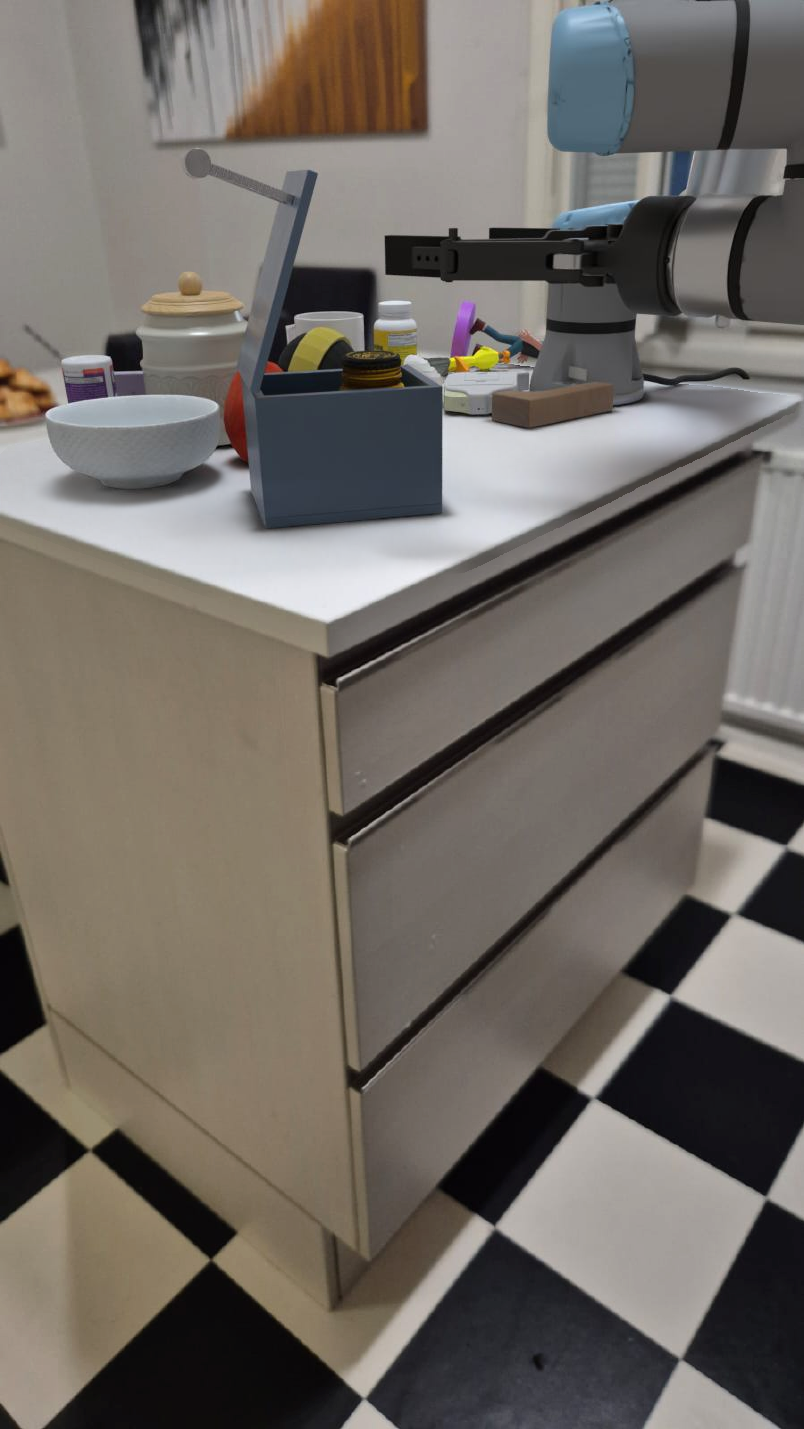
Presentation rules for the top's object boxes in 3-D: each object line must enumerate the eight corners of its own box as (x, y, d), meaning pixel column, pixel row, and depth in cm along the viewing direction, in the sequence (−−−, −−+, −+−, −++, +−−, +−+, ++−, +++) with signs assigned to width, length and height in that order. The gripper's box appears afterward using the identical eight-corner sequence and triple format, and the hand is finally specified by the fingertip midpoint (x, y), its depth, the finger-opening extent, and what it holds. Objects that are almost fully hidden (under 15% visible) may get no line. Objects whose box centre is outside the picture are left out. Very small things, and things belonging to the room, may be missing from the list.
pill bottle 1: (49, 360, 107) (65, 450, 111) (87, 363, 105) (101, 455, 109) (85, 353, 111) (99, 441, 116) (122, 355, 109) (134, 445, 113)
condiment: (421, 494, 90) (420, 356, 85) (332, 505, 88) (325, 363, 82) (395, 475, 96) (393, 345, 91) (311, 484, 94) (303, 351, 88)
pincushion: (416, 394, 138) (379, 404, 137) (407, 349, 135) (369, 359, 134) (450, 403, 128) (410, 415, 127) (442, 354, 125) (401, 366, 124)
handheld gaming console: (530, 416, 123) (528, 391, 136) (530, 392, 122) (529, 370, 135) (440, 417, 124) (448, 393, 138) (440, 394, 123) (447, 371, 136)
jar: (207, 419, 124) (190, 265, 116) (285, 431, 117) (273, 269, 109) (126, 440, 115) (102, 274, 106) (206, 454, 108) (186, 278, 100)
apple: (311, 466, 104) (305, 358, 99) (233, 473, 102) (222, 363, 97) (296, 448, 111) (290, 347, 106) (222, 454, 109) (212, 351, 104)
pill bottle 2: (373, 380, 147) (371, 300, 142) (414, 379, 148) (413, 299, 143) (377, 388, 142) (374, 305, 137) (419, 386, 143) (419, 304, 137)
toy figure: (517, 350, 148) (442, 363, 146) (517, 374, 150) (443, 387, 148) (499, 339, 154) (426, 352, 151) (499, 363, 156) (427, 375, 153)
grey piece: (366, 372, 150) (377, 349, 152) (369, 382, 152) (381, 360, 154) (442, 377, 145) (453, 353, 148) (445, 387, 147) (455, 364, 149)
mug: (379, 403, 132) (377, 314, 127) (334, 414, 126) (329, 321, 121) (316, 393, 139) (311, 308, 134) (269, 403, 133) (262, 315, 128)
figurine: (447, 369, 154) (560, 393, 153) (458, 307, 149) (575, 331, 148) (456, 355, 162) (564, 378, 161) (467, 296, 157) (578, 319, 155)
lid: (295, 174, 84) (186, 131, 80) (318, 173, 74) (194, 123, 70) (244, 370, 90) (141, 337, 87) (259, 394, 80) (142, 358, 77)
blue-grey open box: (410, 479, 98) (408, 364, 93) (442, 513, 88) (442, 386, 83) (251, 492, 95) (240, 374, 90) (265, 528, 85) (254, 398, 80)
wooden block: (528, 428, 117) (613, 410, 125) (529, 399, 116) (615, 384, 124) (490, 420, 122) (574, 404, 130) (491, 393, 120) (575, 378, 128)
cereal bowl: (253, 484, 98) (246, 411, 94) (85, 513, 90) (72, 434, 87) (189, 451, 110) (181, 385, 107) (38, 473, 103) (24, 403, 99)
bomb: (260, 423, 123) (366, 468, 119) (255, 346, 113) (370, 392, 110) (306, 374, 128) (409, 415, 125) (305, 297, 119) (415, 339, 116)
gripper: (593, 337, 61) (339, 315, 73) (753, 300, 78) (526, 287, 90) (603, 199, 57) (334, 201, 69) (769, 192, 74) (529, 194, 86)
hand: (442, 250), depth 79 cm, fingers open, 13 cm apart
